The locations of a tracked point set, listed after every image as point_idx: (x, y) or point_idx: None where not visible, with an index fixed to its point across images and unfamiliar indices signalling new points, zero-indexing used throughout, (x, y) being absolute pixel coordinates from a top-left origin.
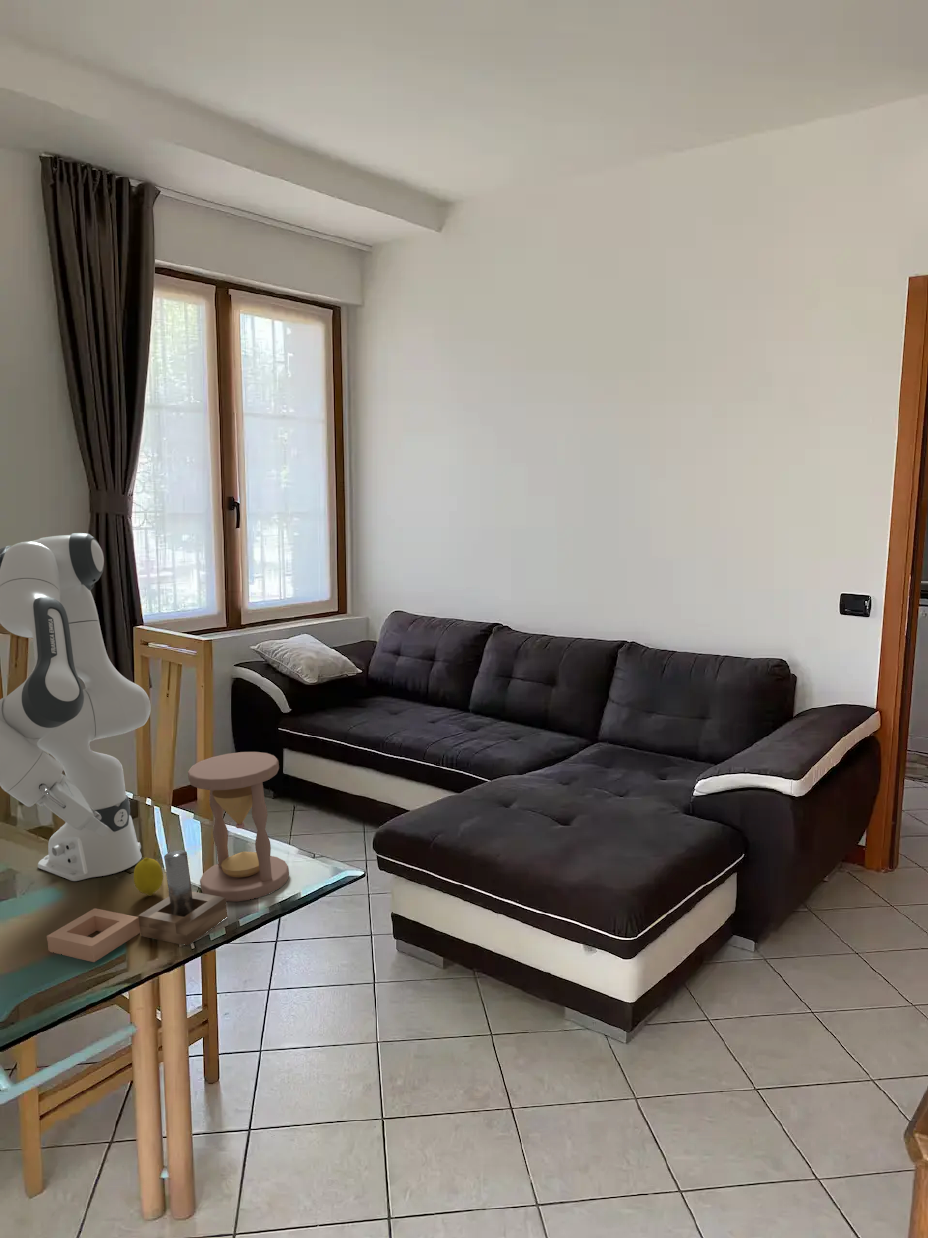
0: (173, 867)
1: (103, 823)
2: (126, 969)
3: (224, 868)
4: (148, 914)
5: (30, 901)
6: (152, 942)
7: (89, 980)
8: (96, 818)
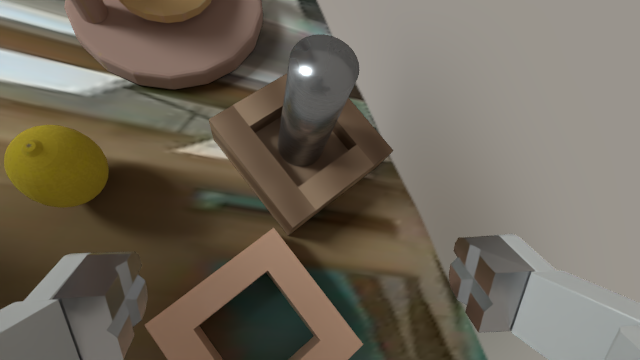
0: (349, 94)
1: (484, 257)
2: (410, 279)
3: (174, 14)
4: (301, 206)
5: None
6: (328, 219)
7: (419, 352)
8: (128, 290)
